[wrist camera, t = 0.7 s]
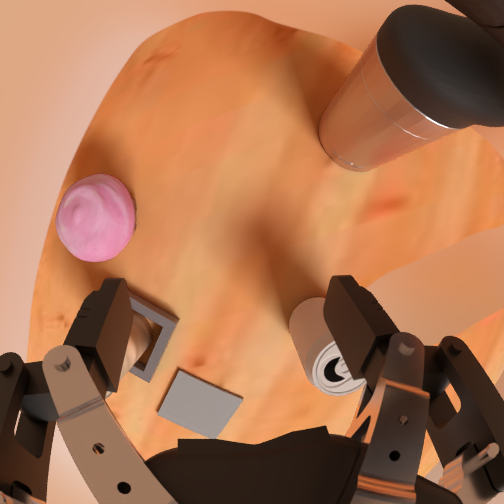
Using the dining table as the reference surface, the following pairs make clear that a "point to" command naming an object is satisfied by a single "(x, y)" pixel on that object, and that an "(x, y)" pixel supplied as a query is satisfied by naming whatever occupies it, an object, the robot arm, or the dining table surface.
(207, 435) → the mat
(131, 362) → the beige tall cylinder
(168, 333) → the socket collar
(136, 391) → the dining table surface
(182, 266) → the dining table surface
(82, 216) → the cupcake
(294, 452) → the robot arm
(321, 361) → the beverage can
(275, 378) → the dining table surface
